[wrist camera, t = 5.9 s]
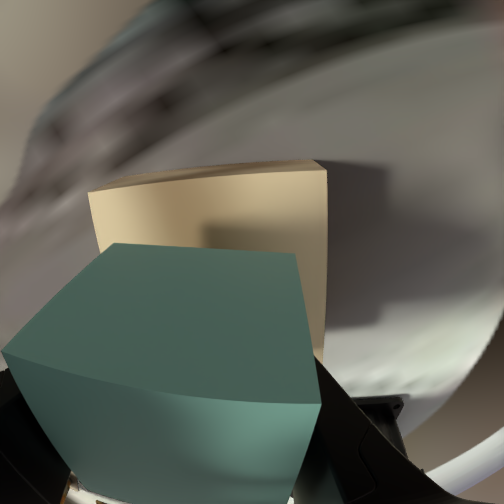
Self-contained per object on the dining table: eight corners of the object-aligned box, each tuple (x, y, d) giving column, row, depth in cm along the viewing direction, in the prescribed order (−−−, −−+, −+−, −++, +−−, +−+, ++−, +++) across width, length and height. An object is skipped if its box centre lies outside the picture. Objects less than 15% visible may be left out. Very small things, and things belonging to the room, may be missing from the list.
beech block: (311, 158, 13) (326, 170, 9) (312, 323, 16) (321, 370, 12) (126, 175, 13) (87, 192, 10) (158, 327, 16) (137, 371, 13)
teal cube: (295, 253, 8) (321, 403, 4) (278, 389, 10) (278, 522, 6) (113, 242, 8) (1, 350, 4) (136, 374, 10) (87, 489, 6)
